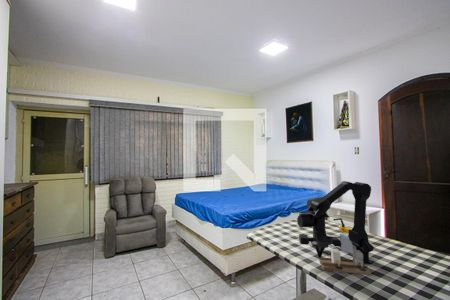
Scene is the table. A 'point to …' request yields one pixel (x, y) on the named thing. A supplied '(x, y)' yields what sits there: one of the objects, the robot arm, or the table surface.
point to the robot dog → (343, 227)
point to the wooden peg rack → (346, 264)
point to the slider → (335, 256)
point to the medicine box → (346, 243)
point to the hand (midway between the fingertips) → (319, 257)
